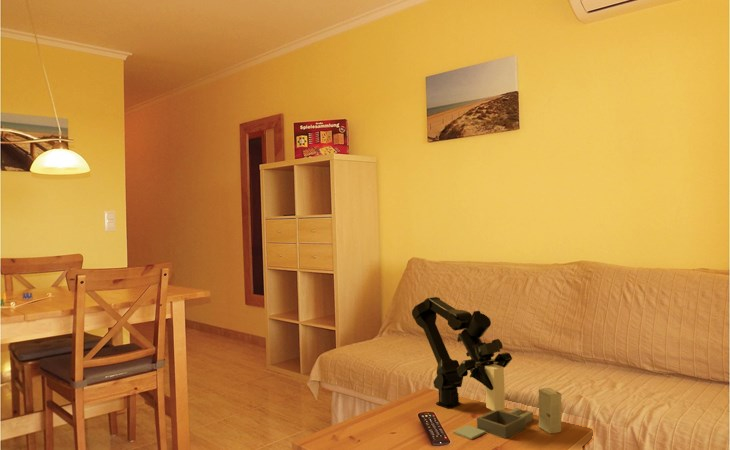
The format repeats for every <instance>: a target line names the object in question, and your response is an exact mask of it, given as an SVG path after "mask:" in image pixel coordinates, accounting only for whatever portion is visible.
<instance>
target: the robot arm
mask: <svg viewBox="0 0 730 450" xmlns="http://www.w3.org/2000/svg"><path fill="white" fill-rule="evenodd" d="M411 315H412V318H413V319H414V321H415V323H416V325H417V326H418V327H420V328H421V329H423V331H424V333H425V336H426V339H427V342H428V344H429V346H430V348H431V351H432V353H433V356H434V358H435V360H436V363H437V367H436V377H435V378H434V380H433V382H432V383H433V387H434V389H437V390H438V401H437V402H435V404H436V405H437V406H440V407H443V408H447V409H452V408H454V407H457V406H459V405H462V402H460V401H459V400H460V398H459V392H458V391H459V390H458V388H462V385H463V381H464V377H467V376H468V374H469V371H470V375H469V377H470V378H473V379H474V380H476V381H477V382H479V383H481V384H482V385H483V386H485V388H486V387H487V388H489V389H490V390H493V386H492V384H491V382H490V380H489V378H488V376H487V374H486V372H485V366H488V365H493V364H496V365H499V366H502V367H504V368H506V367H507V366H508V365H509V363H511V361H513V357H512V354H511V353H510V352H501V349H503V343H502V341H501V340H500V339H499V338H496V339H495V338H494V340H491V342H486V341H485V342H483V340H482V339H481V338H482V337H484V335H485V333H486V332H487V331H488V329H489V328H490V326H491V324H492V322H491V319H490V317H488V316H487V315H486V314H484V313H481V310H474V311H473V312H472V313H471V312H469V311H467V310H463V309H456V308H455V307H453V306H451V305H449V304H448V303H446V301H443V300H442V299H441V298H440V297H439V296H433V297H432V296H431V297H427V298H425V299H424V301H421V302H420V303H418V304H416V305H414V307H413V309H412V310H411ZM437 315H438V316H440V317H442V318H443V319H445V320H446V321H447V326H449V327H450V328H451V329H452V330H453V331H454V332H455V331H456V332H457V331H461V330H462V331H461V332H460V333H458V336H457V343H459V342H462V344H463V346H464V347H465V349H466V351H467V352H466V353H465V355H466V356H467V357H468V358H469V357H470V359H466V360H462V361H461V363H459V361H458V360H457V359H452V358H451V357H450V353H449V352H448V349H447V347H446V344H445V342H444V340H443V338H442V335H441V333H440V331H439V329H438V327H437V323H436V322H437V318H438V317H437ZM495 353H496V354H497V353H498V354H497V355H496V356H495ZM494 356H495V357H494ZM493 357H494V358H493Z"/></svg>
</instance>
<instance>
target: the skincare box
mask: <svg viewBox="0 0 730 450" xmlns="http://www.w3.org/2000/svg"><path fill="white" fill-rule="evenodd" d="M538 427H539V428H540V429H542V430H544V432H546V433H547V434H556V433H560V432H562V393H561V392H559V391H558V390H557V389H553V388H552V387H544V388H543V387H542V388H539V389H538Z"/></svg>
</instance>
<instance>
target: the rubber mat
mask: <svg viewBox="0 0 730 450" xmlns="http://www.w3.org/2000/svg"><path fill="white" fill-rule="evenodd" d="M452 433H453V434H454V433H455V434H454V435H457V436H459V435H460V437H463V438H465V439H467V440H470V439H471V440H474V439H476V438H477V437H480V436H482V435H484V434H486V433H487V432H486V431H484V430H481V429H478V428H477V427H475V426H472V425H469V424H467V425H464V426H462V427H460V428H457V429H455V430H453V431H452Z"/></svg>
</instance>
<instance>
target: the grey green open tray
mask: <svg viewBox="0 0 730 450" xmlns="http://www.w3.org/2000/svg"><path fill="white" fill-rule="evenodd" d="M532 421H534V411H529V410H527V409H525V408H520V407H515V408H513V409H511V410H509V411H504V410H503V409H502V410H498V411H493V410H491V411H489V412H487V413H484V414H483V415H480V416H478V417H477V418H476V425H477V426H476V428H478V429H481V430H484V431H486V433H488V434H490V435H494V436H496V437H498V438H499V437H500V438H503V439H505V440H506V439H508V438H510V437H512V436H514V435H516V434H518V433H520V432H522V431H524V430H526V429H527V428H526V425H527V424H528V423H530V422H532ZM498 422H499V423H498Z"/></svg>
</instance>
